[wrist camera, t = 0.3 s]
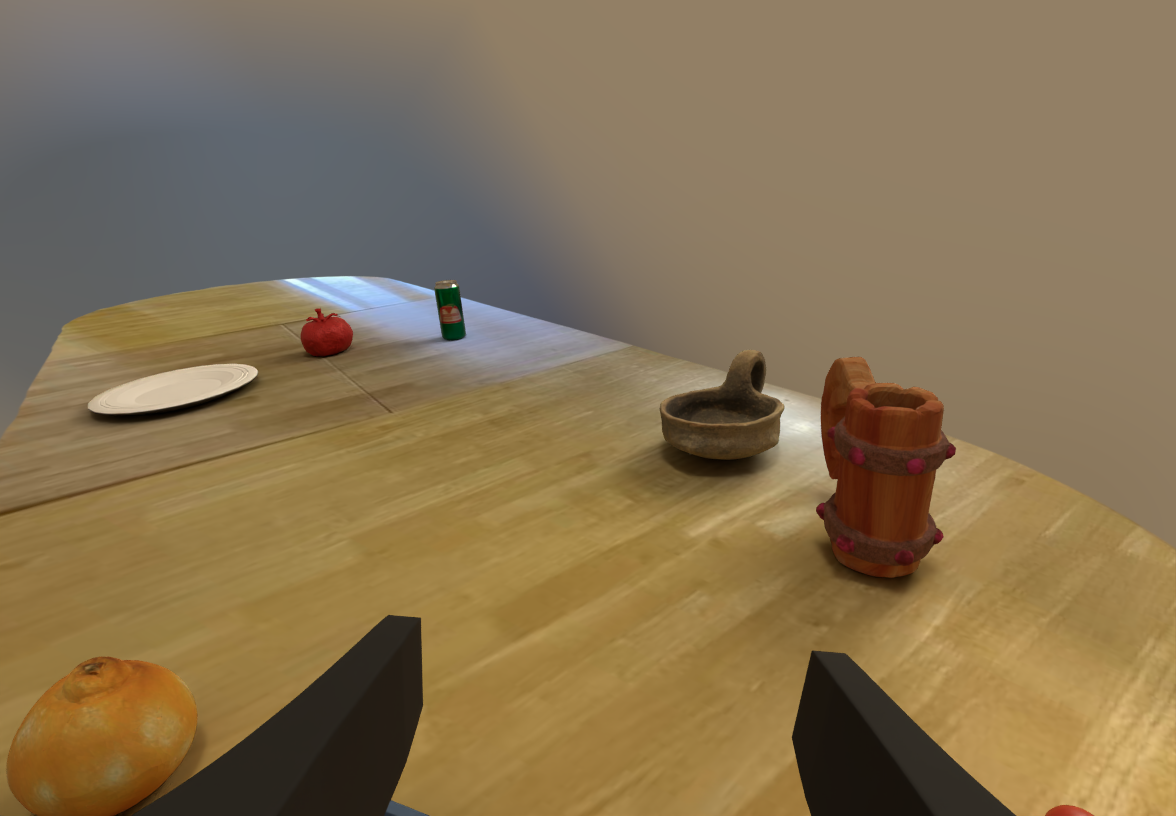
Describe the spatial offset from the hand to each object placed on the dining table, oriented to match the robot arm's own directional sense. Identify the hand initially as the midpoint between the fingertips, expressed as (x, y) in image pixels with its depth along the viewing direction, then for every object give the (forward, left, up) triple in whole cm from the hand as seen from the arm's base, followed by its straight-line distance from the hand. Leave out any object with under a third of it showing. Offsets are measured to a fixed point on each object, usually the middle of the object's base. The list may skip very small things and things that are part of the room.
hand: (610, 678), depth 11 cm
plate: (+89, +73, -22) cm, 117 cm away
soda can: (+117, +31, -22) cm, 123 cm away
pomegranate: (+112, +56, -22) cm, 127 cm away
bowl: (+55, -14, -22) cm, 61 cm away
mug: (+35, -21, -22) cm, 47 cm away
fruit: (+16, +29, -22) cm, 40 cm away
